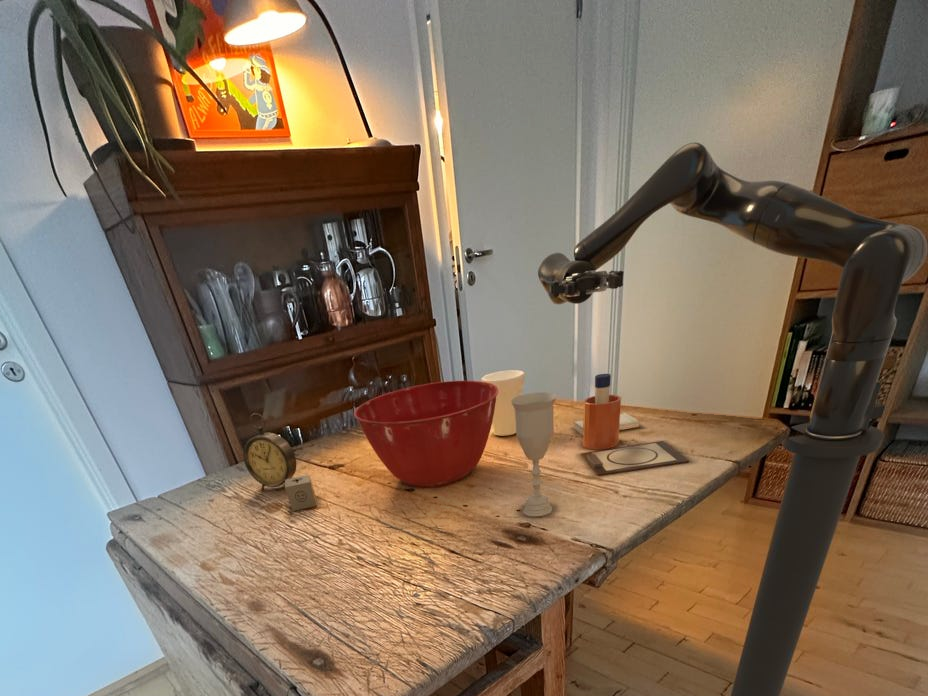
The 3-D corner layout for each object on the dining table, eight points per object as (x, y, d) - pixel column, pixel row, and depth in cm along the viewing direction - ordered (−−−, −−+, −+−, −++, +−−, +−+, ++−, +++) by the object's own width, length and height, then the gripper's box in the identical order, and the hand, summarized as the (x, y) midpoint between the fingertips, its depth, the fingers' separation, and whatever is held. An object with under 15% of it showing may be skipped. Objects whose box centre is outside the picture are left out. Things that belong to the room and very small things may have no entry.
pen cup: (612, 436, 114) (614, 392, 109) (623, 446, 108) (625, 400, 103) (579, 441, 115) (579, 398, 109) (587, 451, 109) (588, 406, 103)
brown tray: (662, 442, 107) (663, 437, 106) (688, 462, 97) (689, 456, 96) (580, 454, 108) (580, 449, 107) (597, 475, 97) (597, 470, 97)
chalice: (562, 515, 86) (561, 400, 75) (521, 521, 86) (515, 407, 75) (552, 499, 92) (550, 390, 81) (514, 505, 92) (507, 397, 81)
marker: (605, 438, 112) (608, 372, 105) (609, 442, 110) (612, 375, 102) (591, 440, 113) (593, 375, 105) (595, 444, 110) (597, 378, 102)
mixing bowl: (481, 503, 95) (472, 415, 85) (347, 502, 105) (326, 423, 95) (518, 451, 115) (513, 375, 106) (403, 454, 125) (390, 385, 116)
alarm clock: (254, 493, 118) (226, 418, 108) (266, 484, 122) (241, 411, 112) (296, 491, 114) (271, 414, 105) (307, 482, 118) (284, 407, 109)
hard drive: (585, 430, 115) (639, 420, 116) (573, 421, 122) (624, 411, 122) (585, 437, 116) (638, 427, 117) (573, 428, 123) (624, 419, 123)
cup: (532, 426, 129) (530, 368, 121) (520, 439, 122) (516, 379, 114) (494, 427, 133) (490, 371, 125) (480, 440, 126) (475, 381, 118)
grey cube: (316, 497, 110) (309, 474, 107) (316, 505, 106) (309, 482, 103) (292, 502, 109) (285, 479, 106) (292, 511, 105) (284, 487, 102)
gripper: (541, 266, 111) (558, 267, 98) (607, 255, 111) (633, 255, 98) (542, 307, 116) (558, 313, 103) (605, 297, 115) (630, 302, 102)
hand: (594, 285), depth 100 cm, fingers open, 8 cm apart
